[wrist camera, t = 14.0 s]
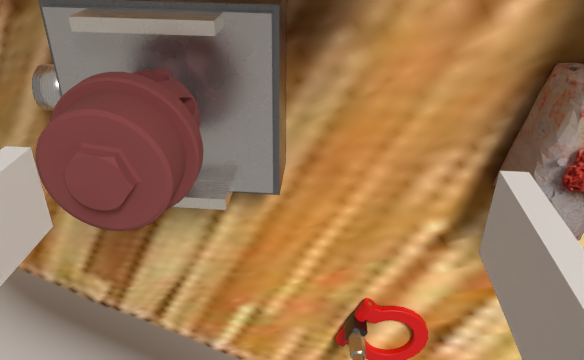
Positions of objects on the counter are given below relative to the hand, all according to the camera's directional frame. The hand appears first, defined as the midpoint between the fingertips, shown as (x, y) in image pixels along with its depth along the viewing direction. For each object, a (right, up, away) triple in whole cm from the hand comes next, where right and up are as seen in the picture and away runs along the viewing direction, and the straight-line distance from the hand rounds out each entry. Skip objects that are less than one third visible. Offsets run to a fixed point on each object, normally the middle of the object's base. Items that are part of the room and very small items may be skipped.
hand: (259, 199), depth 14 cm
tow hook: (+12, -17, +45) cm, 49 cm away
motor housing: (-10, +10, +31) cm, 34 cm away
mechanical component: (-9, +6, +25) cm, 28 cm away
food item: (+25, +5, +31) cm, 40 cm away
